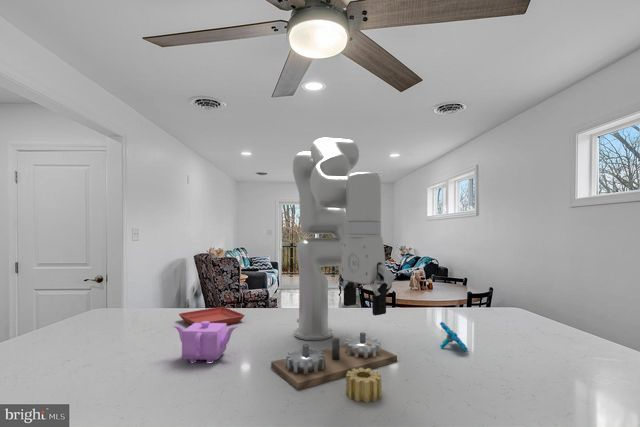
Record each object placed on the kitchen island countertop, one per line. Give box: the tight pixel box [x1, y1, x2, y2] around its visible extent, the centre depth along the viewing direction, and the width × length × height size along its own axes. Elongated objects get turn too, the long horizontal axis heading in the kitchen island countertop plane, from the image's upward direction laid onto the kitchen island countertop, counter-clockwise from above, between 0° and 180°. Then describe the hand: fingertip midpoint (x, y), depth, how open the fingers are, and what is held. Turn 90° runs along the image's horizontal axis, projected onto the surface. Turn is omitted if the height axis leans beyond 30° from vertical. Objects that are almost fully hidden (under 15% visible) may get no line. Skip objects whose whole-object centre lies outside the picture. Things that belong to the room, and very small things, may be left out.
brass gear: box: [345, 368, 382, 404], centre depth 75 cm, size 7×7×4 cm
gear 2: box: [344, 332, 382, 358], centre depth 96 cm, size 10×10×5 cm
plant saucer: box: [178, 306, 246, 326], centre depth 130 cm, size 18×18×3 cm
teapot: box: [172, 321, 239, 363], centre depth 96 cm, size 18×13×10 cm
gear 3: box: [439, 321, 469, 352], centre depth 103 cm, size 11×6×10 cm
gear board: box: [270, 337, 398, 391], centre depth 91 cm, size 30×14×6 cm, turn 123°
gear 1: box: [285, 343, 325, 374], centre depth 86 cm, size 10×10×5 cm
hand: (363, 309), depth 75 cm, fingers open, 9 cm apart
